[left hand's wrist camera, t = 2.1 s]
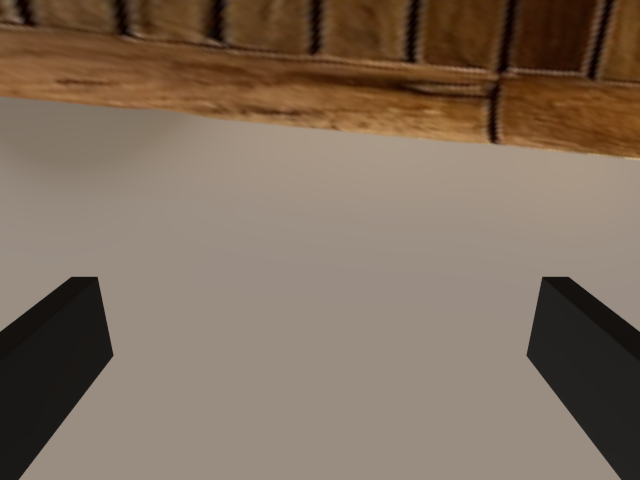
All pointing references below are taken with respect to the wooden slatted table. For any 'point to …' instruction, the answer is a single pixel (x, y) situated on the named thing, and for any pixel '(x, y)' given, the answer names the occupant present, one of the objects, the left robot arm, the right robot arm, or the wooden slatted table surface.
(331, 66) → the wooden slatted table surface
